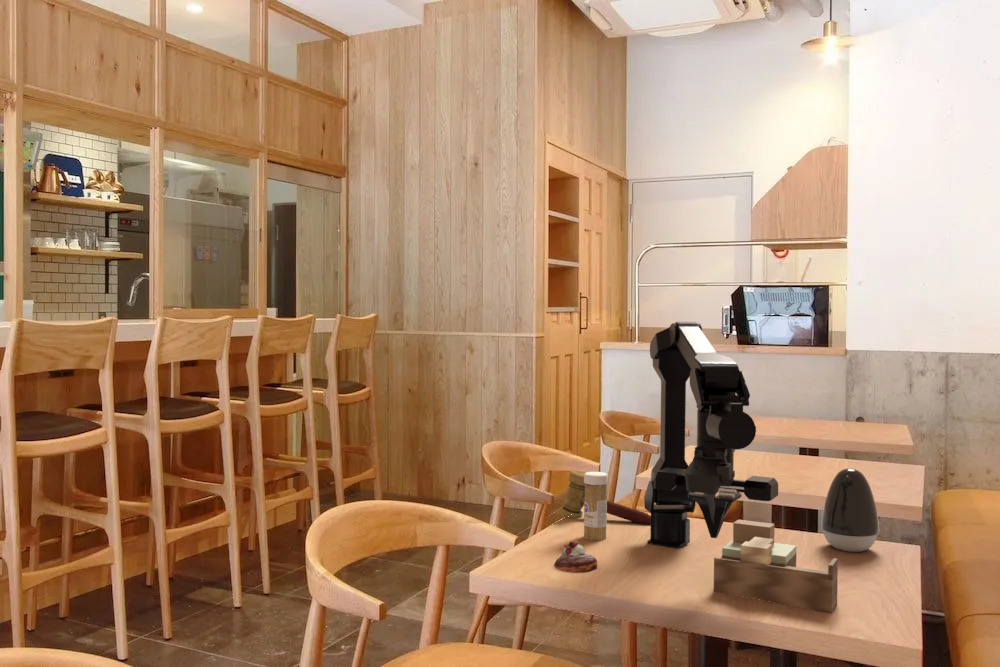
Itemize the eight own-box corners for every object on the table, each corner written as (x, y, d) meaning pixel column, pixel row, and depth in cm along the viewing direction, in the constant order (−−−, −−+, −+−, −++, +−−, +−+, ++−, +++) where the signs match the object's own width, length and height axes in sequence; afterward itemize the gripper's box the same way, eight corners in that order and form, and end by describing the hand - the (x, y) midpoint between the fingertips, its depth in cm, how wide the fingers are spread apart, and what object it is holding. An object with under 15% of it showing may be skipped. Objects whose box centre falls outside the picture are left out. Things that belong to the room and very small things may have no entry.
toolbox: (713, 593, 139) (714, 549, 139) (735, 573, 149) (735, 532, 149) (832, 612, 130) (832, 565, 130) (845, 590, 141) (846, 547, 140)
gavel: (656, 545, 184) (668, 499, 183) (652, 550, 180) (665, 503, 179) (562, 513, 191) (574, 469, 190) (556, 517, 186) (568, 472, 186)
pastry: (565, 562, 157) (565, 534, 156) (605, 568, 153) (605, 540, 153) (545, 574, 150) (546, 544, 149) (586, 580, 146) (586, 550, 146)
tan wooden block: (740, 563, 137) (740, 545, 137) (751, 553, 143) (751, 536, 143) (766, 566, 135) (766, 548, 135) (776, 556, 141) (777, 539, 141)
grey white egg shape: (817, 551, 164) (818, 470, 164) (824, 539, 174) (825, 462, 173) (876, 558, 160) (877, 475, 159) (881, 545, 169) (882, 466, 169)
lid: (722, 555, 143) (722, 528, 142) (735, 544, 149) (735, 518, 149) (785, 564, 138) (785, 536, 137) (796, 552, 144) (796, 526, 144)
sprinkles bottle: (578, 541, 171) (579, 472, 171) (596, 538, 173) (597, 470, 173) (593, 546, 167) (594, 475, 167) (612, 543, 169) (612, 473, 169)
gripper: (641, 441, 138) (640, 540, 138) (762, 451, 129) (760, 557, 129) (665, 433, 148) (664, 526, 148) (779, 442, 138) (778, 541, 139)
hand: (714, 537), depth 141 cm, fingers closed
